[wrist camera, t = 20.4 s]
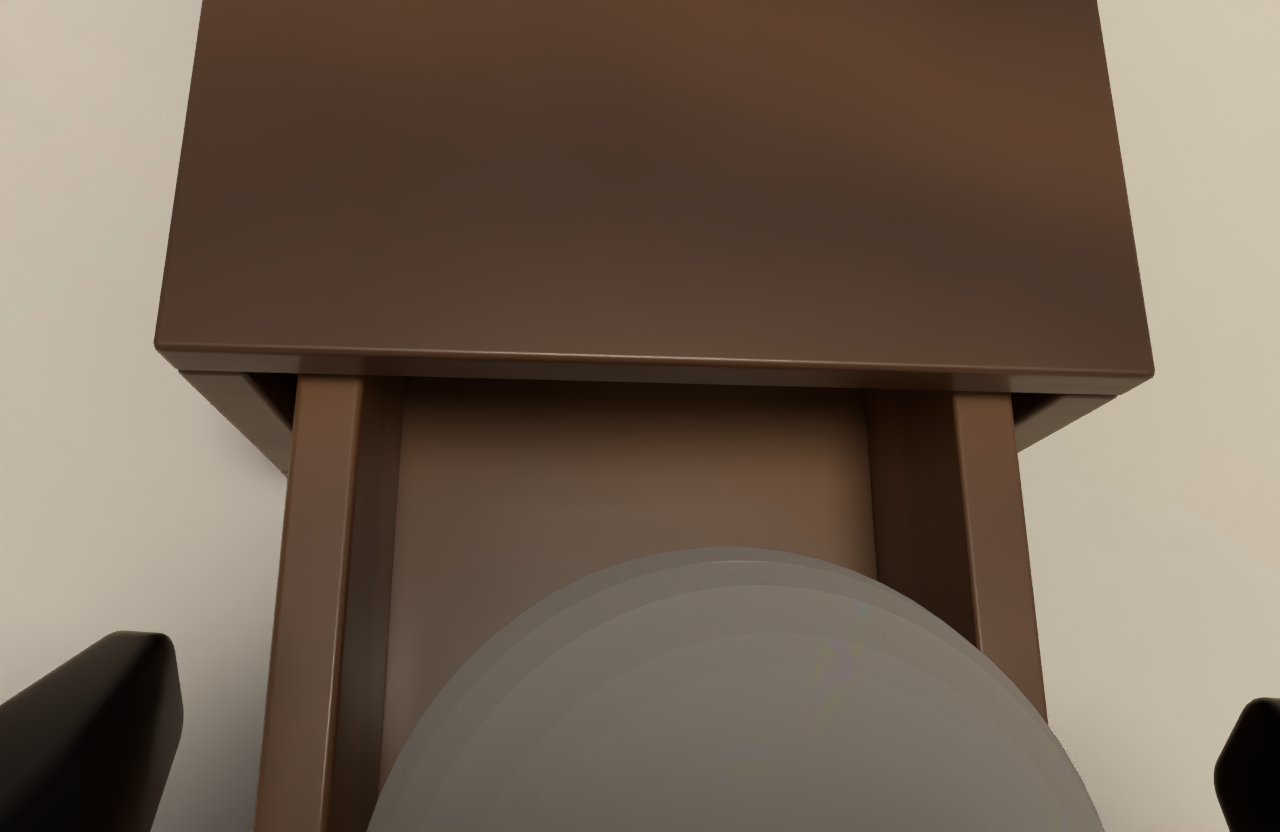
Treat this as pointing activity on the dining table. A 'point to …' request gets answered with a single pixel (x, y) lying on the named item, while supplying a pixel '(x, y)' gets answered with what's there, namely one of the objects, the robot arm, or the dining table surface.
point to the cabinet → (653, 200)
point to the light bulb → (731, 714)
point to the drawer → (596, 533)
